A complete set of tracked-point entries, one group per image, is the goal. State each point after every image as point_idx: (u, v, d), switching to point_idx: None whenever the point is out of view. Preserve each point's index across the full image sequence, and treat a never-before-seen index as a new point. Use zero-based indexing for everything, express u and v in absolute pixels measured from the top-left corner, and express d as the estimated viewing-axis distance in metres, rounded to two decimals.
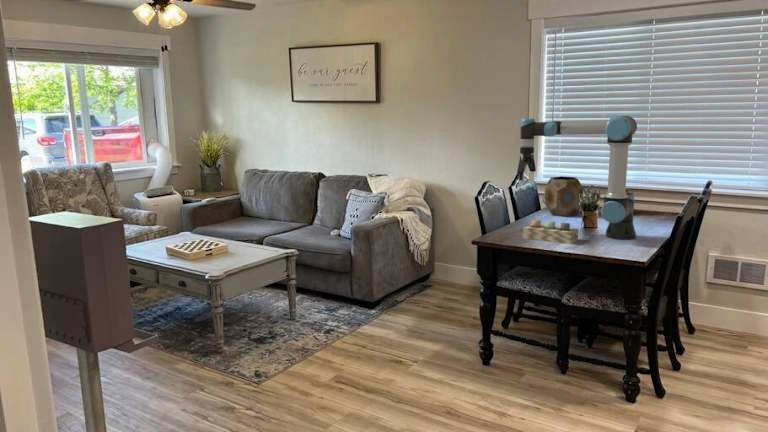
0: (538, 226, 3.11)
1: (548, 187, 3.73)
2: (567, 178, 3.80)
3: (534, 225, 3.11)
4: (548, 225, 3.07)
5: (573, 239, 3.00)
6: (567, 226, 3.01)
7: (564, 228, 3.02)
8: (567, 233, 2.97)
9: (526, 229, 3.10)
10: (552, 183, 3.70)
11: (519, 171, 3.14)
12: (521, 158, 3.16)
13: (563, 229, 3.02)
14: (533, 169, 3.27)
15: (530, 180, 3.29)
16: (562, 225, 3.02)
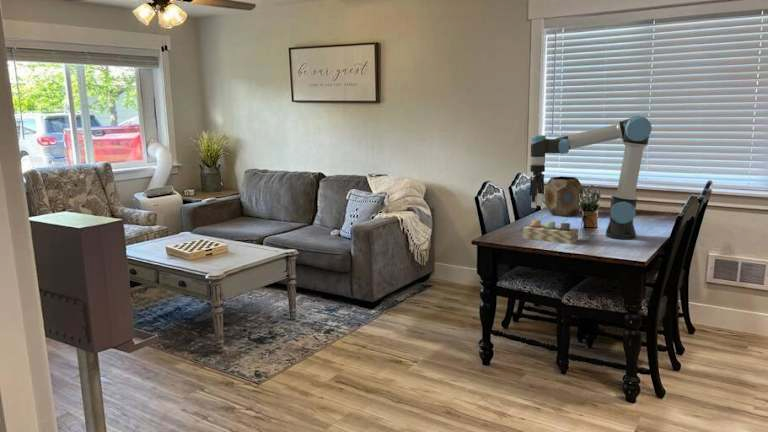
0: (538, 226, 3.11)
1: (548, 187, 3.73)
2: (567, 178, 3.80)
3: (534, 225, 3.11)
4: (548, 225, 3.07)
5: (573, 239, 3.00)
6: (567, 226, 3.01)
7: (564, 228, 3.02)
8: (567, 233, 2.97)
9: (526, 229, 3.10)
10: (552, 183, 3.70)
11: (532, 193, 3.04)
12: (532, 179, 3.03)
13: (563, 229, 3.02)
14: (542, 191, 3.12)
15: (538, 203, 3.14)
16: (562, 225, 3.02)
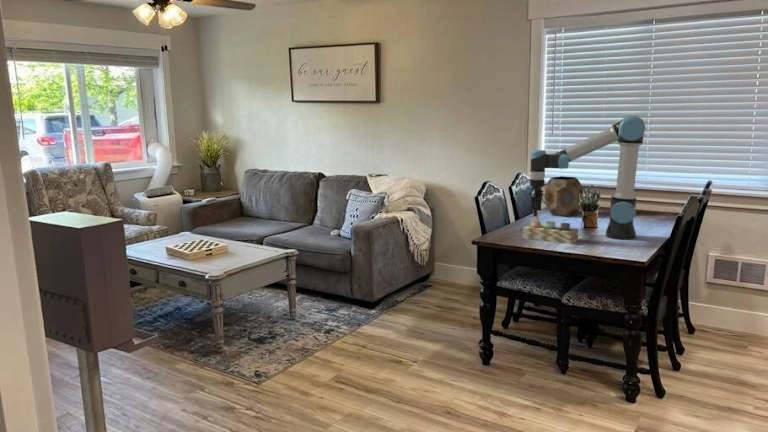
0: None
1: (548, 187, 3.73)
2: (567, 178, 3.80)
3: (534, 227, 3.11)
4: (548, 225, 3.07)
5: (573, 239, 3.00)
6: (567, 226, 3.01)
7: (564, 228, 3.02)
8: (567, 233, 2.97)
9: (526, 229, 3.10)
10: (552, 183, 3.70)
11: (534, 208, 3.08)
12: (532, 195, 3.05)
13: (563, 229, 3.02)
14: (539, 207, 3.11)
15: None
16: (562, 225, 3.02)
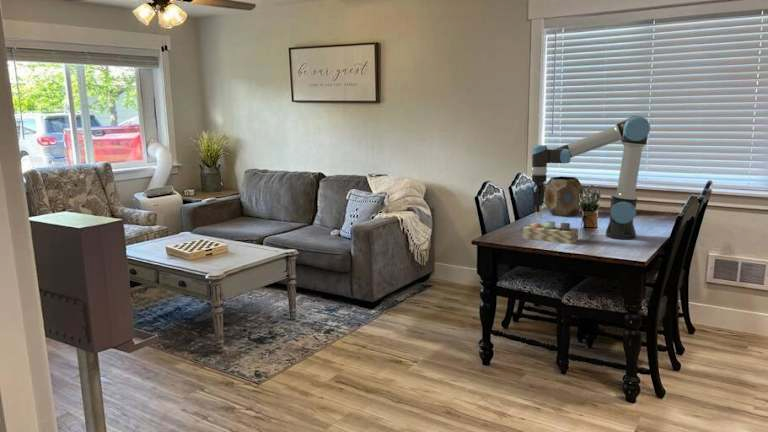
0: None
1: (548, 187, 3.73)
2: (567, 178, 3.80)
3: None
4: (548, 225, 3.07)
5: (573, 239, 3.00)
6: (567, 226, 3.01)
7: (564, 228, 3.02)
8: (567, 233, 2.97)
9: (526, 229, 3.10)
10: (552, 183, 3.70)
11: (536, 203, 3.07)
12: (534, 191, 3.04)
13: (563, 229, 3.02)
14: (541, 202, 3.10)
15: None
16: (562, 225, 3.02)
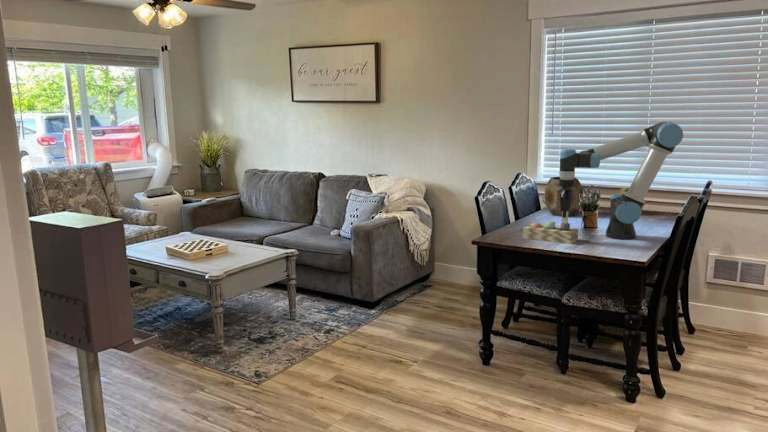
0: None
1: (548, 187, 3.73)
2: None
3: None
4: (548, 225, 3.07)
5: (573, 239, 3.00)
6: (567, 226, 3.01)
7: (564, 228, 3.02)
8: (567, 233, 2.97)
9: (526, 229, 3.10)
10: (552, 183, 3.70)
11: (563, 208, 2.99)
12: (561, 196, 2.96)
13: (563, 229, 3.02)
14: (568, 208, 3.02)
15: None
16: (562, 225, 3.02)
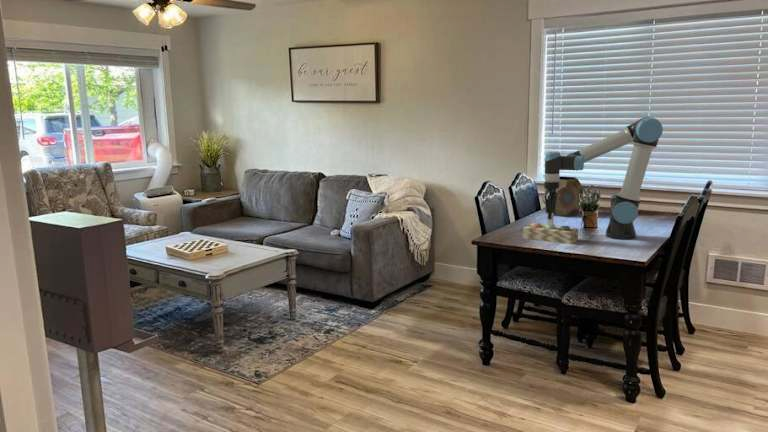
0: None
1: None
2: (567, 178, 3.80)
3: None
4: (548, 228, 3.07)
5: (573, 239, 3.00)
6: (567, 229, 3.01)
7: None
8: (567, 233, 2.97)
9: (526, 229, 3.10)
10: None
11: (548, 210, 3.04)
12: (546, 198, 3.01)
13: None
14: (553, 209, 3.07)
15: None
16: (562, 228, 3.02)
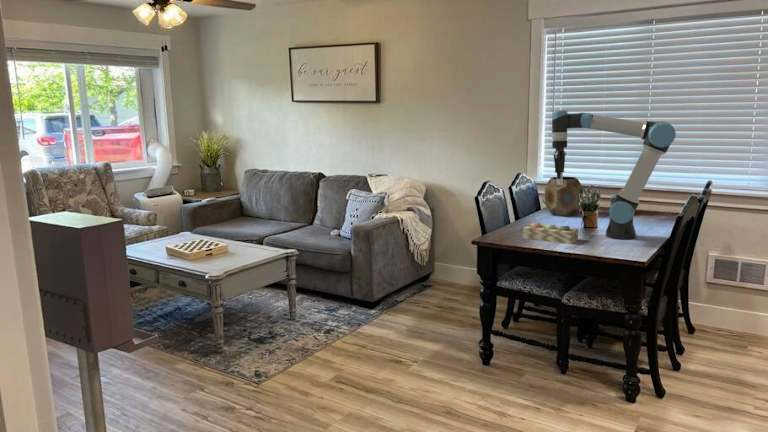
0: None
1: (548, 187, 3.73)
2: (567, 178, 3.80)
3: None
4: (548, 228, 3.07)
5: (573, 239, 3.00)
6: (567, 229, 3.01)
7: None
8: (567, 233, 2.97)
9: (526, 229, 3.10)
10: (552, 183, 3.70)
11: (557, 169, 3.01)
12: (555, 157, 2.99)
13: None
14: (562, 169, 3.04)
15: None
16: (562, 228, 3.02)
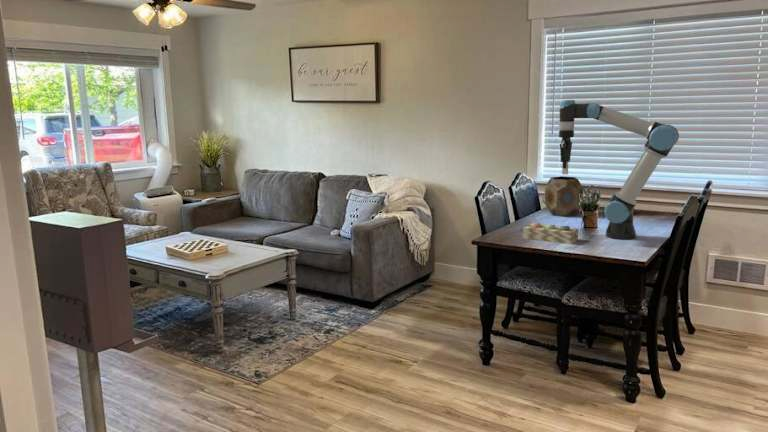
0: None
1: (548, 187, 3.73)
2: (567, 178, 3.80)
3: None
4: (548, 228, 3.07)
5: (573, 239, 3.00)
6: (567, 229, 3.01)
7: None
8: (567, 233, 2.97)
9: (526, 229, 3.10)
10: (552, 183, 3.70)
11: (563, 159, 3.03)
12: (561, 146, 3.00)
13: None
14: (568, 158, 3.06)
15: None
16: (562, 228, 3.02)
